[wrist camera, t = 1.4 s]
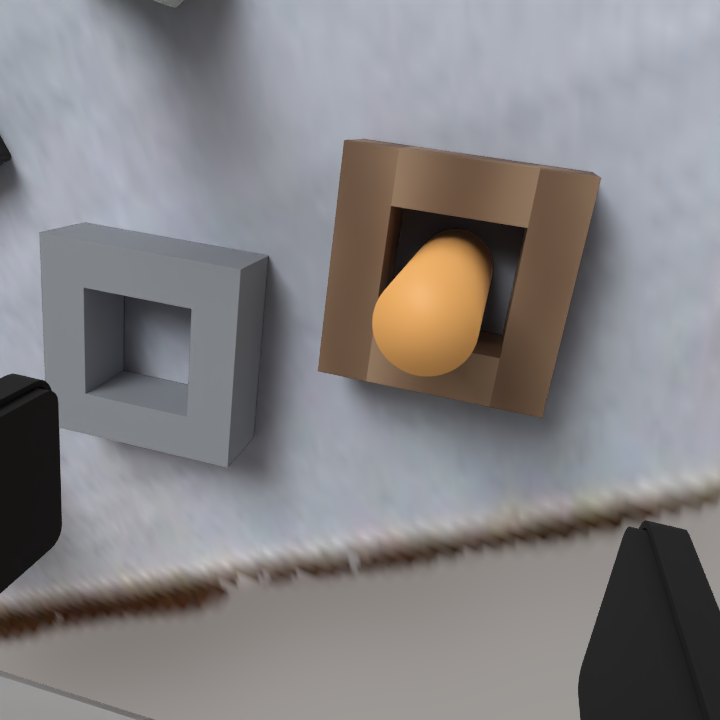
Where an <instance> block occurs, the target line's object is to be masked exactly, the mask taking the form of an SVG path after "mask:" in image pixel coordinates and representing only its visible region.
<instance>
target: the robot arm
mask: <svg viewBox="0 0 720 720" xmlns="http://www.w3.org/2000/svg"><path fill="white" fill-rule="evenodd" d="M61 527H62V515H61V478H60V442H59V406H58V397H57V395H56V393H54V392H53V391H52V390H51V387H50V385H49V384H48V383H47V382H46V381H43V380H39V379H35V378H30V377H26V376H22V375H17V374H10V375H7V376H4V377H2V378H0V593H1V592H2V591H4V590H5V589H6V588H7V587H8V586H9V585H10V584H11V583H13V582H14V581H15V580H16V579H17V578H18V577H19V576H21V575H22V574H23V573H24V572H25V571H26V570H27V569H28V568H30V567H31V566H32V565H33V564H34V563H35V562H36V561H37V560H39V559H40V558H41V557H42V556H43V555H44V554H45V553H46V552H48V551H49V550H50V549H51V548H52V547H53V546H54V545H55V543H56V542H57V540H58V538H59V536H60V532H61ZM578 697H579V707H580V718H581V720H720V611H719V608H718V606H717V603H716V601H715V598H714V596H713V593H712V590H711V588H710V586H709V583H708V581H707V578H706V575H705V573H704V571H703V568H702V566H701V563H700V561H699V558H698V555H697V553H696V551H695V548H694V546H693V543H692V541H691V538H690V535H689V534H688V532H687V530H684V529H680V528H676V527H672V526H667V525H663V524H659V523H655V522H650V521H646V520H645V521H644V522H642V524H641V526H640V527H639V529H637V528H633V527H628V528H627V529H626V531H625V533H624V535H623V538H622V541H621V545H620V548H619V551H618V554H617V558H616V561H615V564H614V566H613V570H612V573H611V576H610V579H609V582H608V585H607V588H606V592H605V595H604V598H603V601H602V604H601V607H600V610H599V613H598V616H597V620H596V623H595V626H594V629H593V632H592V635H591V639H590V642H589V644H588V648H587V651H586V654H585V657H584V660H583V663H582V666H581V670H580V676H579V683H578ZM0 720H154V719H151V718H148V717H144V716H141V715H138V714H135V713H132V712H129V711H126V710H122V709H119V708H116V707H113V706H110V705H107V704H104V703H101V702H97V701H94V700H91V699H88V698H85V697H82V696H78V695H75V694H72V693H69V692H66V691H62V690H60V689H56V688H53V687H50V686H47V685H44V684H41V683H37V682H34V681H31V680H28V679H24V678H22V677H18V676H15V675H12V674H9V673H5V672H3V671H0Z"/></svg>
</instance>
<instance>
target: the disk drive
mask: <svg viewBox="0 0 720 720" xmlns="http://www.w3.org/2000/svg"><path fill="white" fill-rule="evenodd" d="M10 158H11V154H10V152H9V150H8V149H7V147H6V145H5V143H4V141H3V139H2V138H1V136H0V165H2V164H3V163H4V162H7V161H8V160H10Z"/></svg>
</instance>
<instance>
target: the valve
mask: <svg viewBox="0 0 720 720" xmlns="http://www.w3.org/2000/svg"><path fill="white" fill-rule="evenodd" d="M154 1H157V2H159V3H161V4H164V5H167V6H170V7H173V8H176V7H177V6H179V5H180V4H181V3H182V2H183V1H184V0H154Z"/></svg>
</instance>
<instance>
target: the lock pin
mask: <svg viewBox="0 0 720 720" xmlns="http://www.w3.org/2000/svg"><path fill="white" fill-rule="evenodd" d="M492 274H493V260H492V256H491V253H490V251H489V249H488V247H487V245H486V244H485V243H484V242H483V241H482V240H481V239H480V238H479V237H478V236H476V235H475V234H473V233H471V232H468V231H466V230H461V229H449V230H445V231H441V232H439V233H437V234H435V235H434V236H432V237H431V238H430V239H429V240H428V241H427V242H426V243H425V244H424V245H423V246H422V247H421V249H420V250H419V251H418V252H417V253H416V254H415V256H414V257H413V258H412V259H411V260H410V261H409V262H408V264H407V265H406V266H405V267H404V268H403V269H402V271H401V272H400V273H399V274H398V275H397V276H396V277H395V279H394V280H393V281H392V282H391V283H390V284H389V286H388V287H387V288H386V289H385V290H384V291H383V293H382V294H381V295H380V297H379V299H378V301H377V303H376V305H375V308H374V312H373V318H372V328H373V334H374V338H375V341H376V343H377V345H378V347H379V349H380V351H381V352H382V354H383V355H384V356H385V357H386V359H387V360H388V361H390V362H391V363H392V364H393V365H394V366H396V367H397V368H399V369H401V370H402V371H405V372H407V373H409V374H413V375H417V376H438V375H442V374H445V373H448V372H450V371H452V370H454V369H456V368H457V367H459V366H460V365H462V364H463V363H464V362H465V361H466V360H467V359H468V357H469V356H470V355H471V353H472V352H473V350H474V348H475V346H476V343H477V340H478V336H479V332H480V327H481V323H482V319H483V314H484V310H485V305H486V301H487V296H488V292H489V287H490V283H491V278H492Z"/></svg>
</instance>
